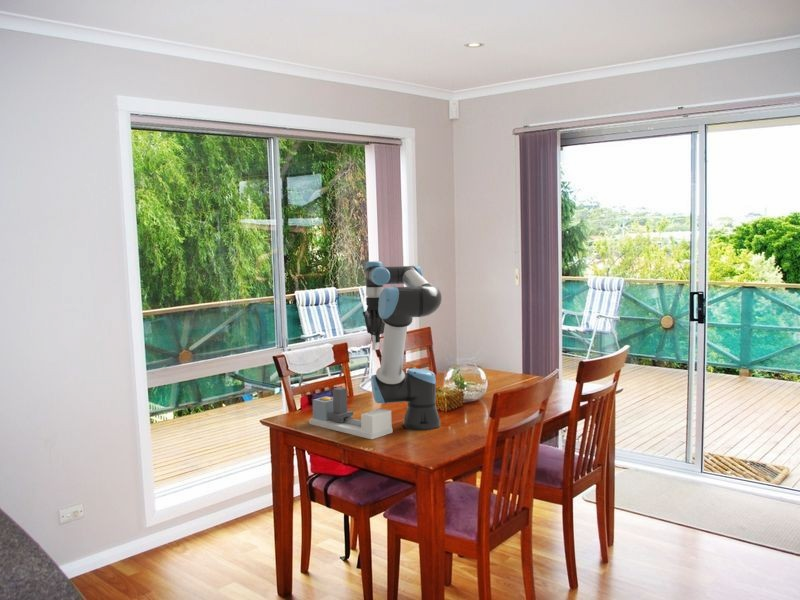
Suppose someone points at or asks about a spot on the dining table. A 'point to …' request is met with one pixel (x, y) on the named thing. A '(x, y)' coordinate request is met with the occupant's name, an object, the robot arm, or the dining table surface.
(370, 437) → the rail track
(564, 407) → the dining table surface
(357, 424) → the rail bar
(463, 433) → the dining table surface
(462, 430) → the dining table surface
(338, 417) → the carriage
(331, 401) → the gauge cabinet
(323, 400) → the button
